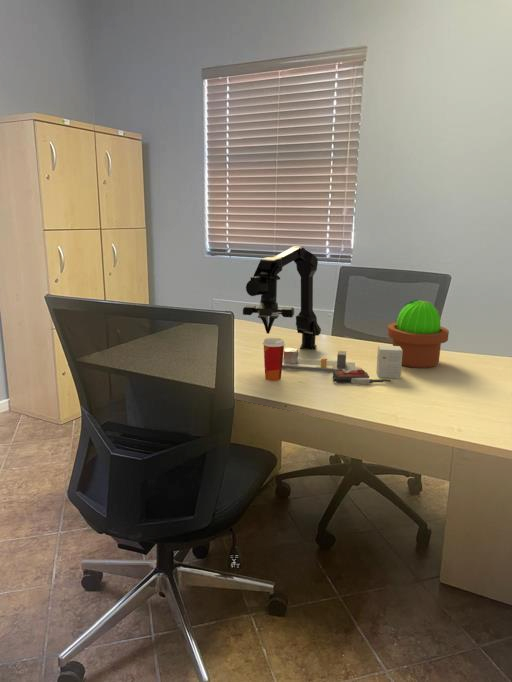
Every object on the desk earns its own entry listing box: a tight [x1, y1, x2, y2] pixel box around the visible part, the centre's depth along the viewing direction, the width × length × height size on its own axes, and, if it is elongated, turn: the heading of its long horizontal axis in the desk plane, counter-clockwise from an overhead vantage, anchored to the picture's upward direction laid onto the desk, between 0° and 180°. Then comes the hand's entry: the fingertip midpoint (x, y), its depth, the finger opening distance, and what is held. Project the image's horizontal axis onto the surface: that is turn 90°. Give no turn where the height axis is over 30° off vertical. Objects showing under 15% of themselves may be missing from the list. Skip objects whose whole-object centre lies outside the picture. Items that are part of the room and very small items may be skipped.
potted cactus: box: [387, 299, 450, 369], centre depth 202 cm, size 22×22×25 cm
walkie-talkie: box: [332, 367, 392, 386], centre depth 182 cm, size 9×4×20 cm
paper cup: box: [262, 337, 286, 382], centre depth 182 cm, size 8×8×14 cm
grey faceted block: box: [283, 347, 299, 364], centre depth 197 cm, size 7×5×4 cm, turn 169°
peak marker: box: [320, 356, 328, 367], centre depth 192 cm, size 2×2×3 cm
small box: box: [376, 345, 403, 379], centre depth 187 cm, size 8×6×10 cm
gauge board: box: [282, 350, 356, 373], centre depth 197 cm, size 10×30×6 cm, turn 79°
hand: (268, 333), depth 198 cm, fingers closed
